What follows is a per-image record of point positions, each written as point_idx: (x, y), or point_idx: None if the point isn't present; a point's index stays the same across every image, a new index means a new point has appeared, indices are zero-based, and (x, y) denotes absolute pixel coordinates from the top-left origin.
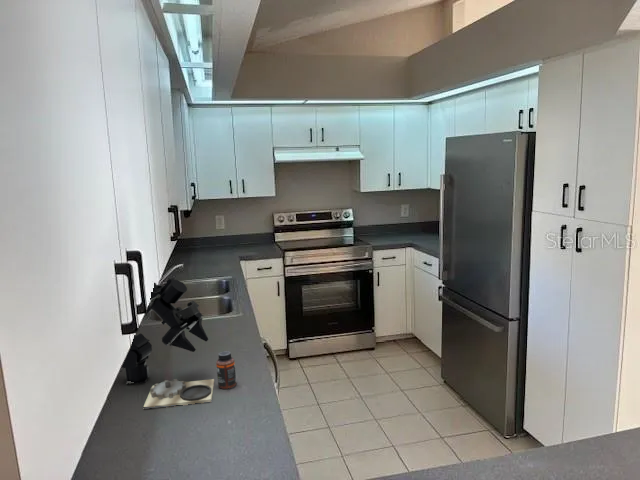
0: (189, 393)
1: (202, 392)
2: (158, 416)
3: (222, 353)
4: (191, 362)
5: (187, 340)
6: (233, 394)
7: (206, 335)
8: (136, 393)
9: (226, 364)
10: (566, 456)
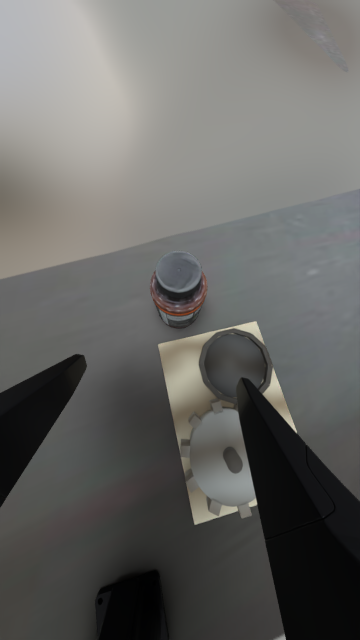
0: (237, 380)
1: (229, 349)
2: (327, 421)
3: (181, 276)
4: None
5: (307, 465)
6: (216, 288)
7: (49, 368)
8: (225, 562)
9: (204, 275)
10: (303, 20)
